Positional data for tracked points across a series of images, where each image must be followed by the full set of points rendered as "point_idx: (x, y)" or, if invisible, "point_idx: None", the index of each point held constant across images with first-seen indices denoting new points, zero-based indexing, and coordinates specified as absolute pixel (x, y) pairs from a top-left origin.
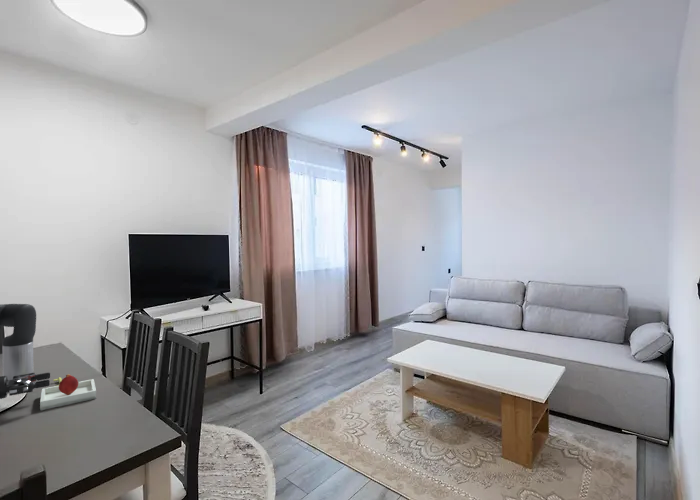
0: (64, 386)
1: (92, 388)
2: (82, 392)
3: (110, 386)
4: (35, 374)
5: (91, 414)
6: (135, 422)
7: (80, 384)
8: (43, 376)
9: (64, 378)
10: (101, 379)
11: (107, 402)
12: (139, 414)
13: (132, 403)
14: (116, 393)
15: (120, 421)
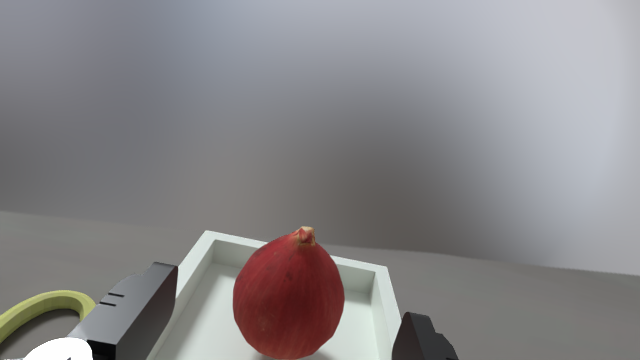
0: (339, 312)
1: (348, 265)
2: (381, 298)
3: (265, 241)
4: (81, 352)
5: (558, 353)
6: (629, 298)
7: (196, 275)
8: (149, 324)
9: (303, 263)
10: (135, 229)
11: (442, 291)
12: (570, 278)
13: (478, 262)
14: (360, 254)
15: (625, 316)
